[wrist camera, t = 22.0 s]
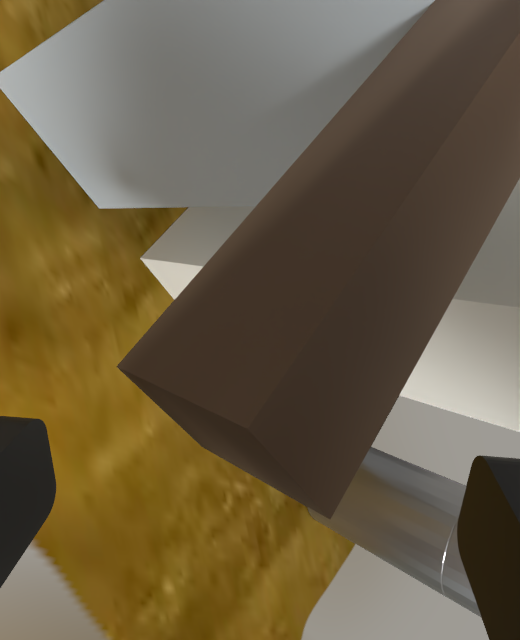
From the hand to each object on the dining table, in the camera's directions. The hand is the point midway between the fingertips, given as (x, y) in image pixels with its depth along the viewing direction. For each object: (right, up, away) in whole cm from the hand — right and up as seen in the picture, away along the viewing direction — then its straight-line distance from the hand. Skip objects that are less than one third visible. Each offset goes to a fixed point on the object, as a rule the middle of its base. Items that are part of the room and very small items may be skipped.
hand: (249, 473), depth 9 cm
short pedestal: (-9, +15, +18) cm, 25 cm away
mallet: (+4, +8, +1) cm, 9 cm away
